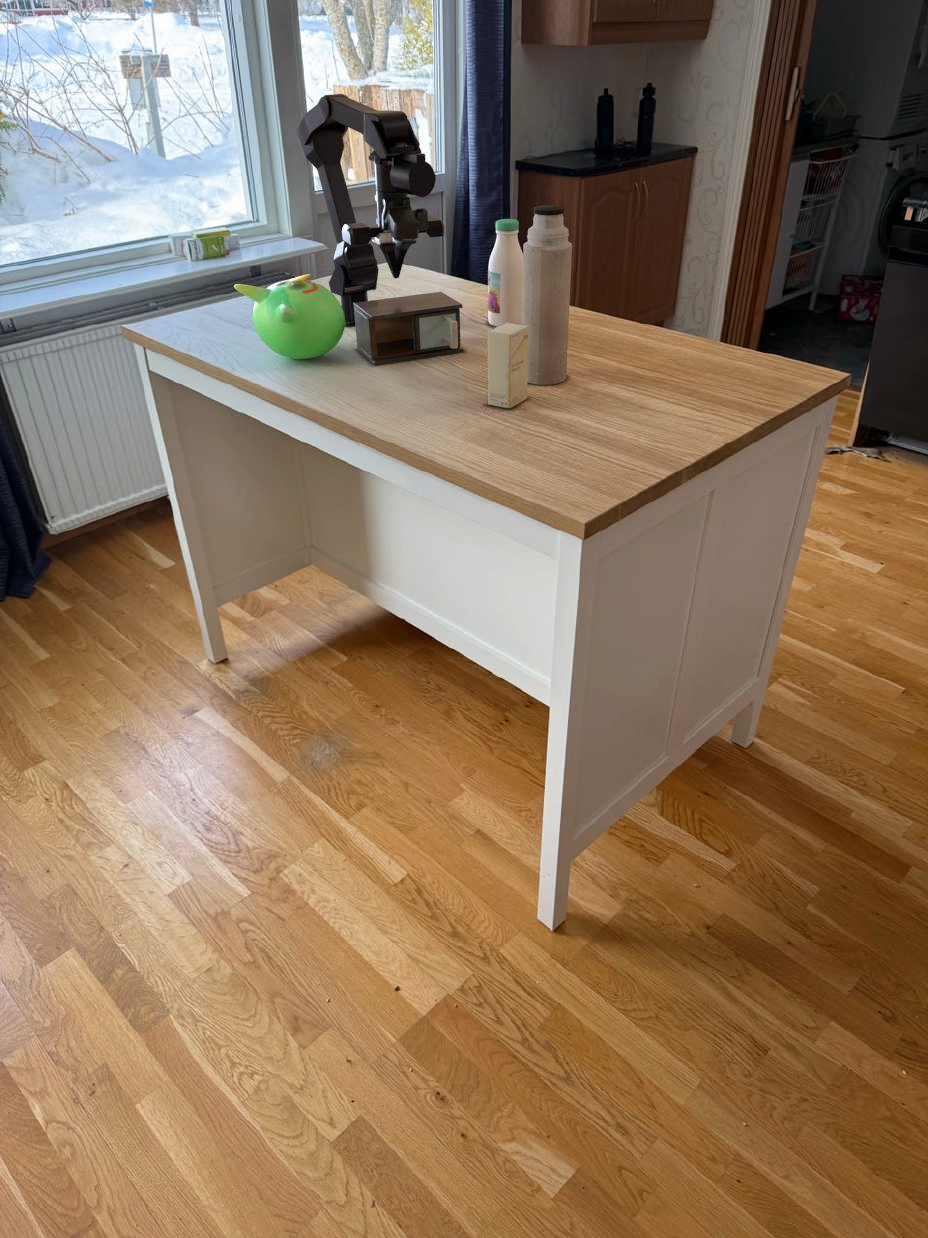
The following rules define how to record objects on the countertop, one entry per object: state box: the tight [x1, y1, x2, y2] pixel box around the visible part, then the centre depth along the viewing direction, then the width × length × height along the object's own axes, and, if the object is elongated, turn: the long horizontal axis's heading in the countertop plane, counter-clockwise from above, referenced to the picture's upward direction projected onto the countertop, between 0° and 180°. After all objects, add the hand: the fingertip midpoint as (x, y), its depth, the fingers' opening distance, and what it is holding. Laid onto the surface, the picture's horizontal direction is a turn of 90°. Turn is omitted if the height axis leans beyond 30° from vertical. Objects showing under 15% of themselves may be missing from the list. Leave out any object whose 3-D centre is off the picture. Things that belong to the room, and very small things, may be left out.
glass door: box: [414, 308, 461, 353], centre depth 167 cm, size 6×9×7 cm, turn 113°
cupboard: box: [353, 291, 464, 366], centre depth 171 cm, size 11×18×9 cm, turn 113°
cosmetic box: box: [487, 323, 528, 409], centre depth 146 cm, size 6×4×12 cm
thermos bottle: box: [521, 204, 573, 386], centre depth 152 cm, size 8×8×28 cm
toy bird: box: [233, 273, 346, 360], centre depth 168 cm, size 18×17×15 cm
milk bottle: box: [487, 218, 523, 327], centre depth 183 cm, size 8×8×20 cm
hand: (396, 277), depth 174 cm, fingers closed
